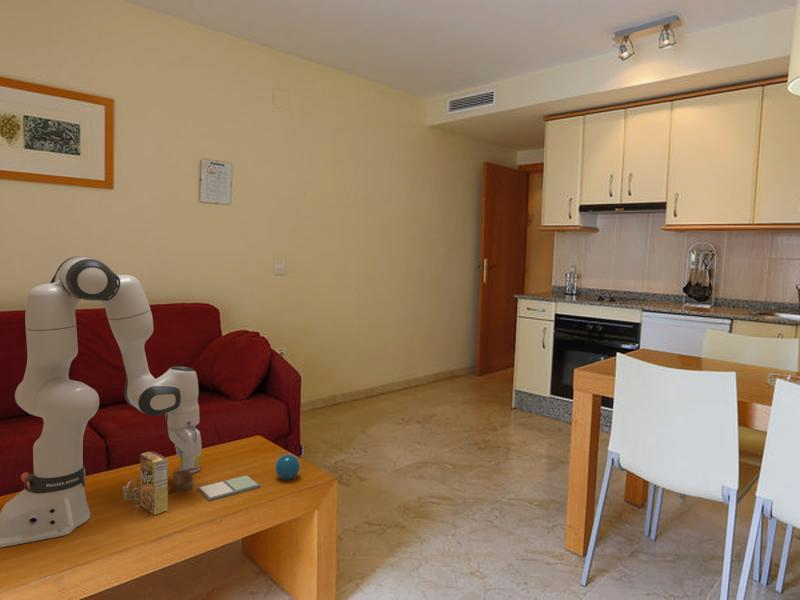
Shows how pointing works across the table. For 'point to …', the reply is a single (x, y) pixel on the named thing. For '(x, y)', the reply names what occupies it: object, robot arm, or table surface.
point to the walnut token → (182, 481)
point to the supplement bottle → (184, 466)
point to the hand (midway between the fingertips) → (185, 461)
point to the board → (228, 487)
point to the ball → (287, 466)
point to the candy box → (154, 482)
